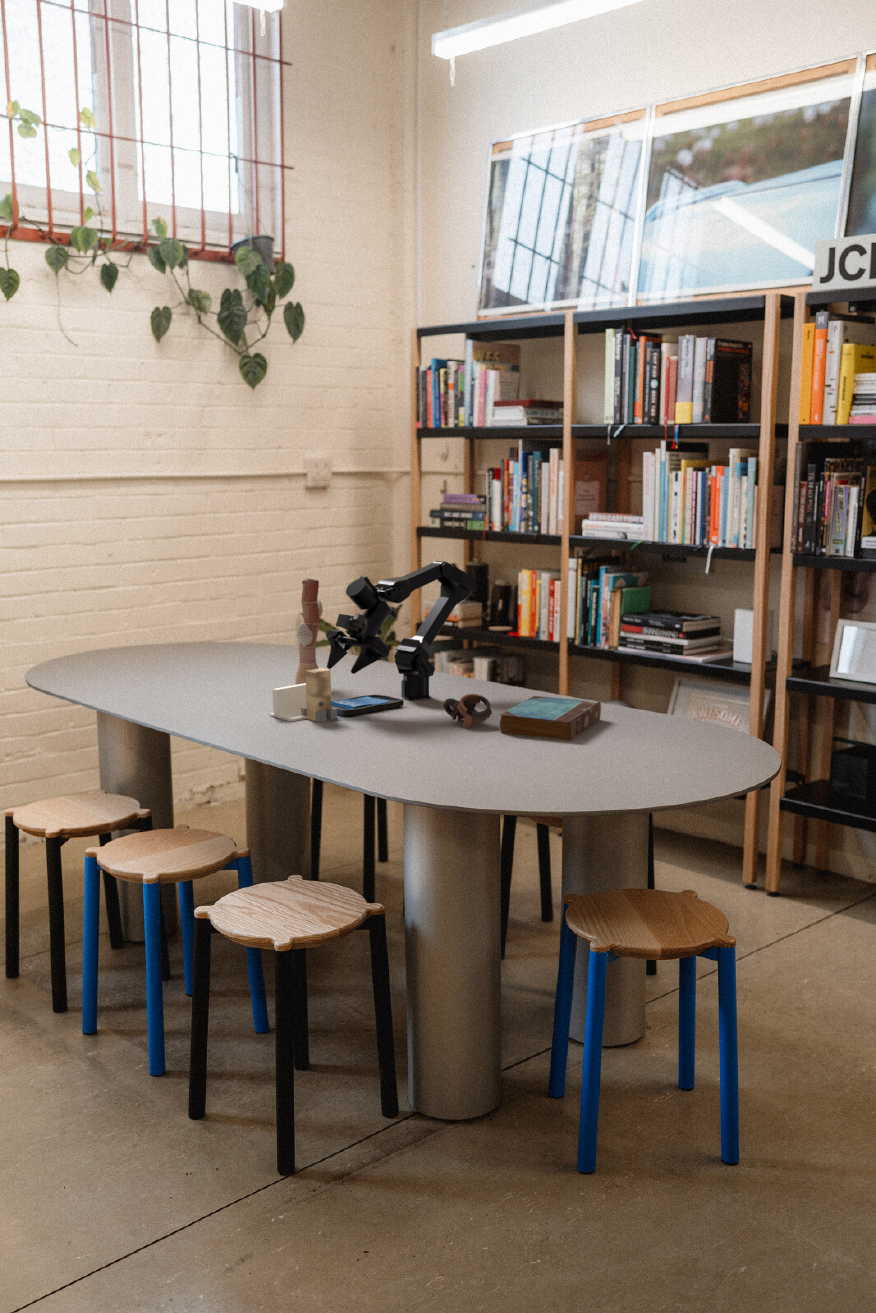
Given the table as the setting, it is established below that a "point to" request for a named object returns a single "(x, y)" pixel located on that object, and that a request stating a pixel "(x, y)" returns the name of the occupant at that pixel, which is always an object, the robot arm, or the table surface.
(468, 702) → the brown looped piece
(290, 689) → the cream board with pegs
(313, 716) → the wooden building block
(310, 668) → the reddish-brown tall column
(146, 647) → the table surface
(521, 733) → the book
